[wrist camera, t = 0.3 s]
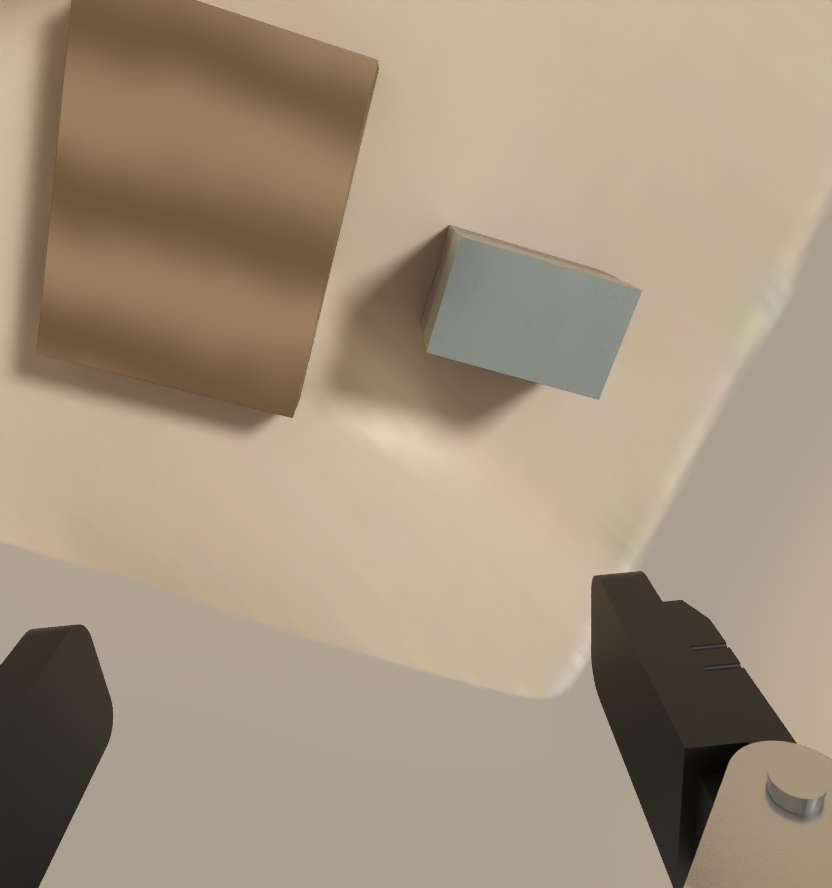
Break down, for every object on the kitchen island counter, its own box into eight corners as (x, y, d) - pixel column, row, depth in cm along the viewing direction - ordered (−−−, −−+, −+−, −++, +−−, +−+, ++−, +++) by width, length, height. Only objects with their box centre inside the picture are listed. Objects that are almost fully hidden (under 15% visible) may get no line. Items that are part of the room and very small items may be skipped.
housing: (449, 224, 34) (461, 236, 29) (602, 270, 35) (642, 290, 30) (420, 323, 36) (426, 352, 30) (567, 364, 37) (598, 399, 32)
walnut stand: (104, -21, 30) (75, -40, 27) (378, 69, 32) (377, 60, 29) (64, 338, 36) (36, 352, 33) (299, 398, 37) (292, 417, 34)
